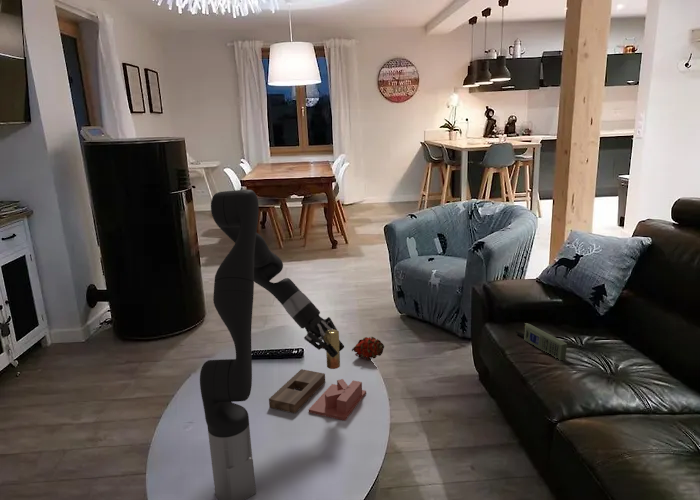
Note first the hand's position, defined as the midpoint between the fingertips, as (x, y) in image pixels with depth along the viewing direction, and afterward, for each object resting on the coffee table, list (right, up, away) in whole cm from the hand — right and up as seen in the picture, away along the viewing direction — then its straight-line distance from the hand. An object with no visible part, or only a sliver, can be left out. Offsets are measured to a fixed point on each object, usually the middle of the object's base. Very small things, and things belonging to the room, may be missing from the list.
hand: (338, 352), depth 149 cm
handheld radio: (+74, -6, +38) cm, 83 cm away
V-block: (-1, -16, +5) cm, 17 cm away
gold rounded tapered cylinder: (-2, -5, +2) cm, 5 cm away
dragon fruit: (+10, -9, +33) cm, 36 cm away
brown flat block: (-13, -16, +10) cm, 23 cm away
